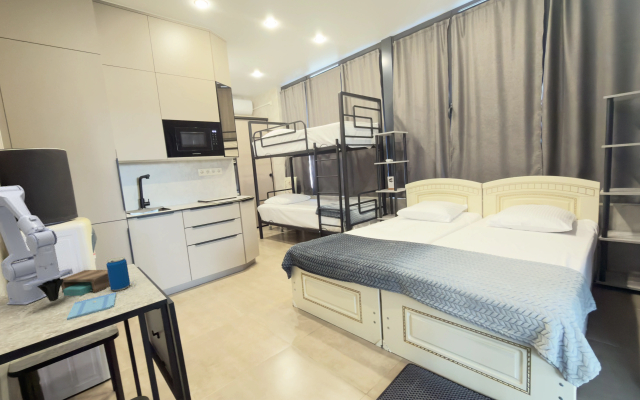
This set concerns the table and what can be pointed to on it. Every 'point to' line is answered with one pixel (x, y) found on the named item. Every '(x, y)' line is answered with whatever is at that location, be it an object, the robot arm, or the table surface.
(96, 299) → the light blue flat pad
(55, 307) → the table surface
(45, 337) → the table surface
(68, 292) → the teal slab tile
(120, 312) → the table surface
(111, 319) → the table surface
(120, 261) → the beverage can
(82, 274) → the wooden box
